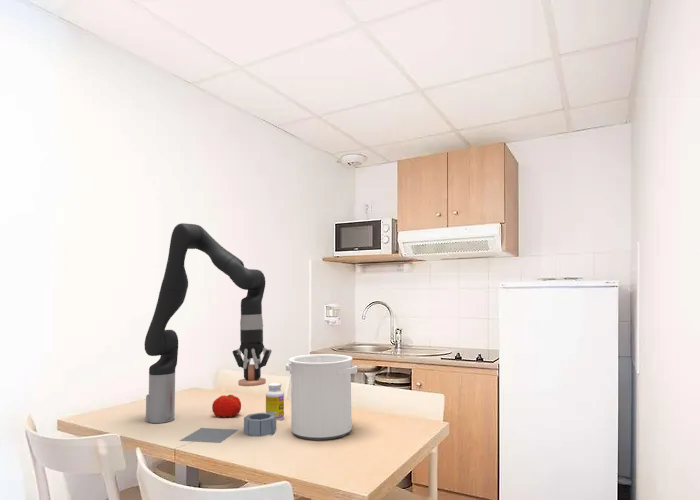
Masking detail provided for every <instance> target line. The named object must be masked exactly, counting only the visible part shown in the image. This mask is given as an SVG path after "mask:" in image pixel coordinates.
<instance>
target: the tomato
mask: <svg viewBox="0 0 700 500" xmlns="http://www.w3.org/2000/svg"><path fill="white" fill-rule="evenodd" d="M211 409H212V412H213V414H214V415H215V416H216V417H218V418H227V419H228V418H230V417H235V416H237V415H239V413H240V412H241V410H242V402H241V399H240V398H239V397H238V396H235V395H233V394H228V395H220V396H218V398H216V399H215V400H214V401H213V402H212V408H211Z"/></svg>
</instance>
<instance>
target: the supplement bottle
mask: <svg viewBox="0 0 700 500" xmlns="http://www.w3.org/2000/svg"><path fill="white" fill-rule="evenodd" d="M281 389H282V383H279V382H272V383H269V384H268V390H267V391H266V393H265V413H272V414H274V415H276V421H283V419H284V417H285V402H284V401H285V394H284V391H283V390H281Z"/></svg>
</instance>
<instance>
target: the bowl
mask: <svg viewBox="0 0 700 500" xmlns="http://www.w3.org/2000/svg"><path fill="white" fill-rule="evenodd" d="M276 430H277V420H276V415H274V414H272V413H266V412H255V413H250V414H247V415H245V416H244V417H243V432H244V434H245V435H247V436H249V437H264V436H265V437H266V436H270V437H272V436H273V435H275V434H276Z"/></svg>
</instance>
